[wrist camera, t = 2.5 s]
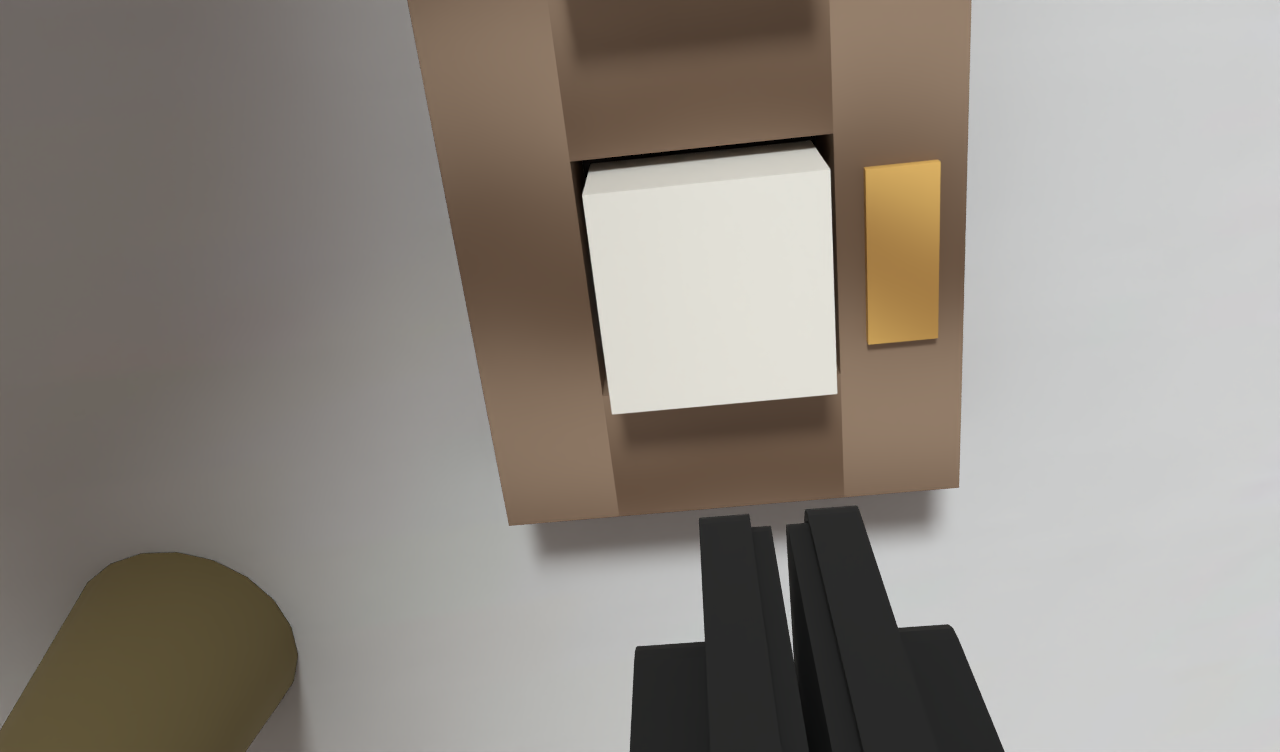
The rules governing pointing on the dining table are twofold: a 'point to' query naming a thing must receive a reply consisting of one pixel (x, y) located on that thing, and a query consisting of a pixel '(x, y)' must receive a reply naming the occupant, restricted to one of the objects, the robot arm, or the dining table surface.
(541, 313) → the button board
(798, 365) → the outer button
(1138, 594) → the dining table surface
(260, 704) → the cork
